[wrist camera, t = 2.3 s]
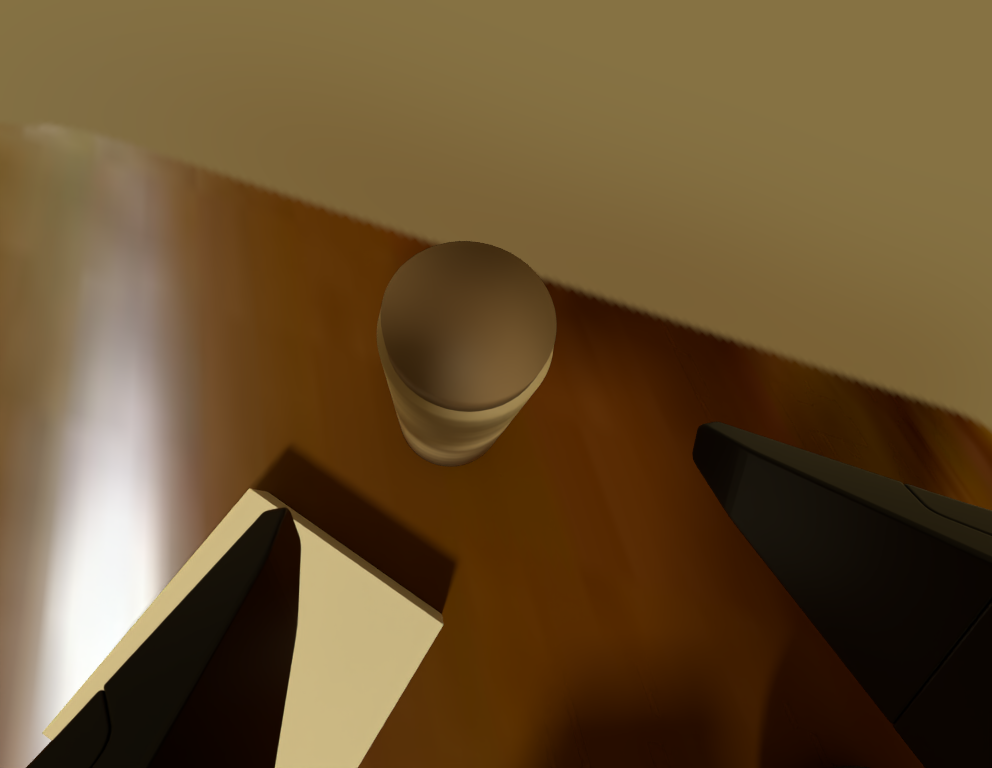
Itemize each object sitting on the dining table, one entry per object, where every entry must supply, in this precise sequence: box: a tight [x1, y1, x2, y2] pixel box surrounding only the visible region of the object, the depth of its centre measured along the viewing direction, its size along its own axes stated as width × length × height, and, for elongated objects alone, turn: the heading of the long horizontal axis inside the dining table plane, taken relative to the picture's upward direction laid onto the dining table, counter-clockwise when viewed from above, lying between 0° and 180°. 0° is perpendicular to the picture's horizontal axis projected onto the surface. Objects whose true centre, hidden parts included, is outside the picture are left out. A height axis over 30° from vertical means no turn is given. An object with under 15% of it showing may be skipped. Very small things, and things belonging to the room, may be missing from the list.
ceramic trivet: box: [43, 488, 443, 768], centre depth 16 cm, size 9×9×2 cm
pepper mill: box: [377, 241, 557, 466], centre depth 16 cm, size 5×5×10 cm
